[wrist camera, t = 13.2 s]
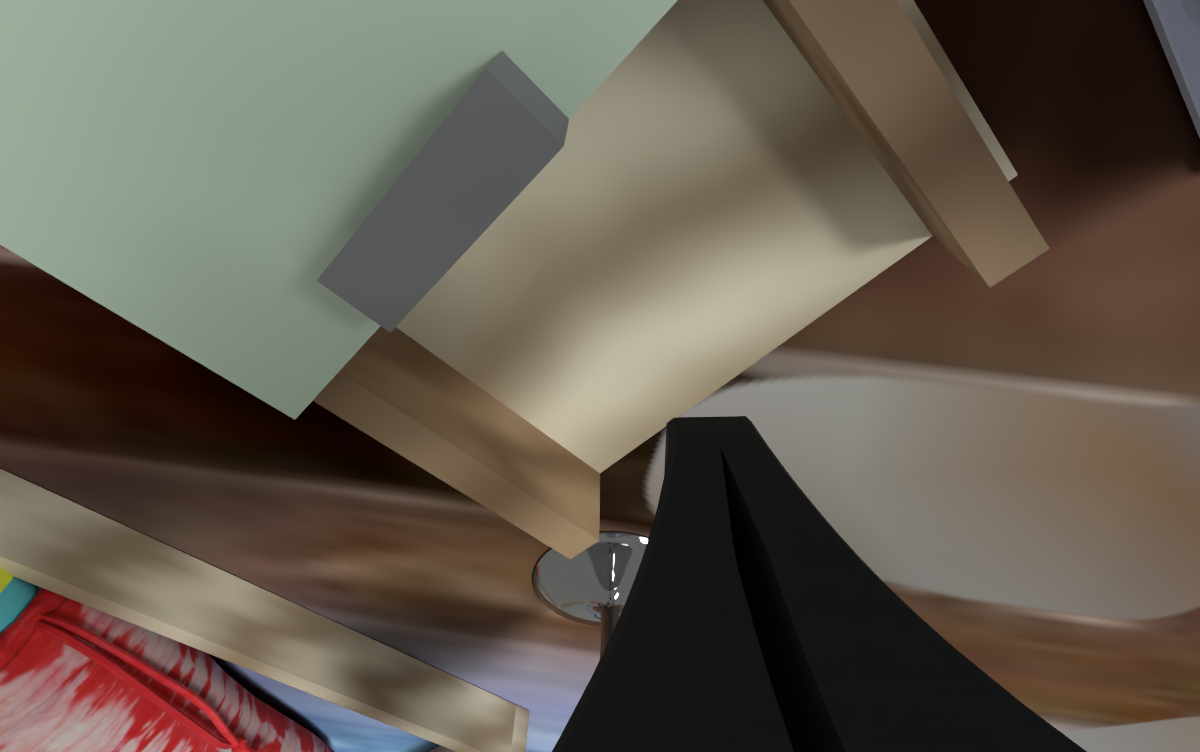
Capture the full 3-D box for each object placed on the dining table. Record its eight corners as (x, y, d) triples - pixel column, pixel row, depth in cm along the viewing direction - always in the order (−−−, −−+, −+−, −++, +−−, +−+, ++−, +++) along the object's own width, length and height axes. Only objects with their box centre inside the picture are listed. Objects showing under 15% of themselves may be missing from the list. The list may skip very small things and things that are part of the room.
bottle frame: (529, 711, 35) (523, 768, 33) (362, 796, 43) (348, 848, 40) (-99, 423, 23) (-184, 482, 20) (-178, 617, 30) (-247, 677, 28)
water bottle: (161, 897, 35) (-335, 688, 21) (247, 747, 41) (-93, 508, 27) (327, 932, 31) (-140, 707, 17) (394, 761, 37) (90, 493, 23)
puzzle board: (997, 163, 17) (1095, 219, 13) (557, 485, 24) (550, 572, 21) (375, -857, 8) (227, -1370, 5) (3, 109, 16) (-154, 154, 13)
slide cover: (799, -144, 10) (853, -166, 8) (307, 400, 16) (262, 469, 14) (328, -904, 6) (183, -1341, 4) (-55, 178, 13) (-186, 225, 11)
